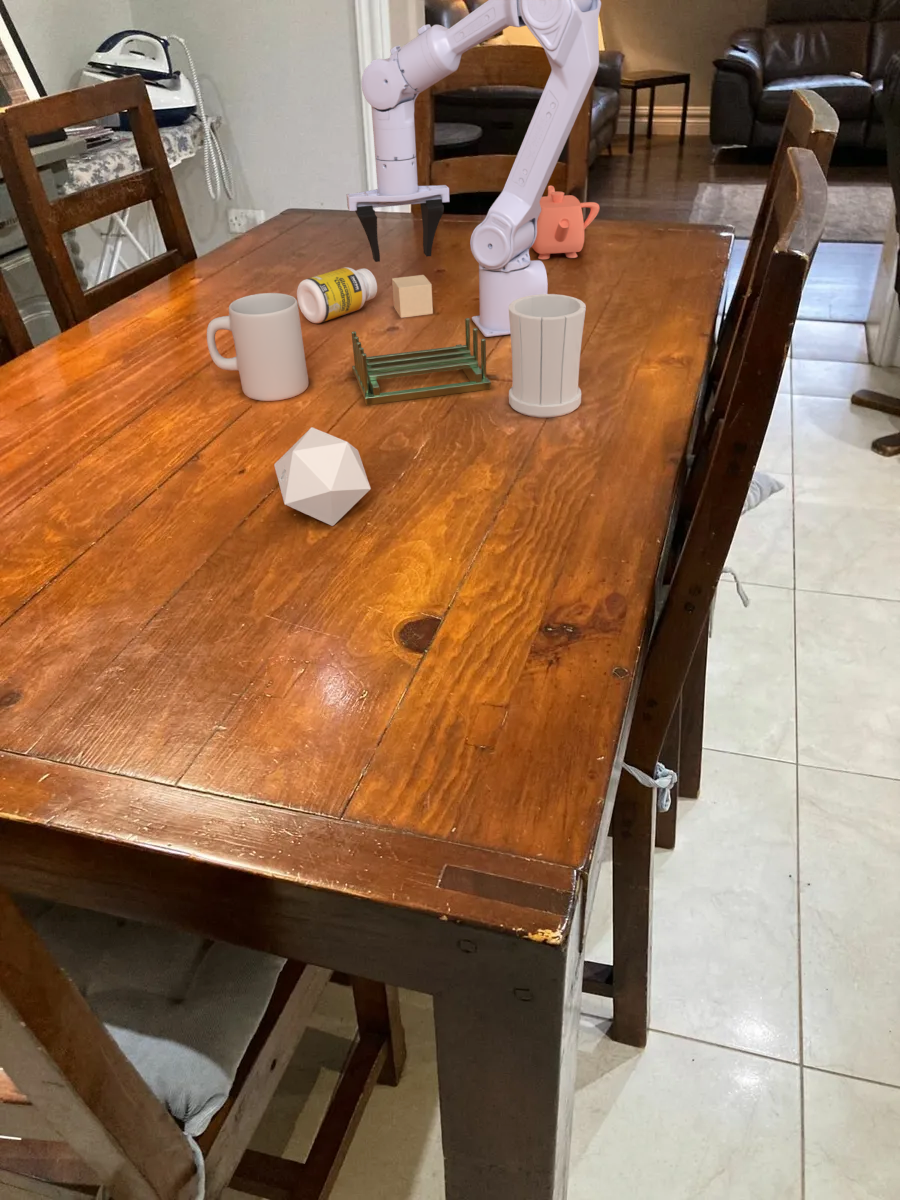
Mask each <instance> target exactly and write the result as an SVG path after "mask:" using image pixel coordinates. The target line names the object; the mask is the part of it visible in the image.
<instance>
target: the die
mask: <svg viewBox="0 0 900 1200" xmlns="http://www.w3.org/2000/svg"><path fill="white" fill-rule="evenodd" d="M273 466H274V469H275V474H276V477H277V481H278V483H279V484H278V485H279V490H280V492H281V496H282V500H283V503H284V505H285V506H286V507H290V508H292V509H294V510H296V511H297V512H301V513H303V514H304V515H307V516H309V517H311V518H314V519H316V520H318V521H320V522H323V523H325V524H327V525H329V526H332V527H333V526H335V525H336V524H337V523H338V522H339V521H340V520H341V519H342V518H343V517H344V516H345V515H346V514H347V513H348V512H349V511H350V510H351V509H352V508H354V506H355V505H356V504H357V503H359V501H360V500H361V499H362V498H363V497H364V496H365V495H366V494H367V493H369V491H370V490H372V488H371V485H370V482H369V480H368V476H367V473H366V470H365V467H364V465H363V460H362V458H361V456H360V451H359V450H358V449H357V448H356V447H355V446H353V445H352V444H351V443H350V442H349V441H346V440H345V439H342V438H339V437H337V436H335V435H332V434H330V433H327V432H325V431H323V430H320V429H317V428H315V427H312V426H311V427H310V428H309V429H308V430H307V431H306V432H305V433H304V434H303V435H302V436H301V437H300V438H299V439H298V440H297V441H296V442H295V443H294V444H293V445H292V446H291V447H290V448H289V449H288V450H286V452H285V453H284V454H283V455H282V456H281V457H279V459H278V460H277V461H276V462H275V463H274V464H273Z"/></svg>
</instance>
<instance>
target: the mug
mask: <svg viewBox="0 0 900 1200" xmlns="http://www.w3.org/2000/svg"><path fill="white" fill-rule="evenodd" d="M220 330H224V331H225V330H226V331H229V332H231V335H232V339H233V345H234V349H235V356H233V357H229V358H228V357H224V356H223V355H221V353H220V352H219V350H218V347H217V344H216V334H217V332H218V331H220ZM206 343H207V348H208V352H209V355H210V358H211V360H212V361H213V363H214V365H215V366H216V367H218V368H219V369H220V370H223V371H231V372H238V373H239V374H238V375H239V380H240V384H241V389H242V392H243V394H244V395H245V396H246V397H247V398H249V399H251V400H256V401H261V402H277V401H283V400H287V399H291V398H295V397H296V396H299V395H301V394H303V393H304V392H305V391H306V390H307V389H308V388H309V384H310V383H309V375H308V374H309V373H308V368H307V362H306V354H305V348H304V339H303V332H302V325H301V319H300V308H299V304H298V300H297V298H295V296H293V295H290V294H287V293H280V292H264V293H263V292H262V293H255V294H250V295H245V296H243V297H239V298H237V299H235V300H233V301H232V302H231V303H230V304H229V306H228V315H223V316H218V317H215V318H213V319H212V320H210V322H209V323H208V325H207V329H206Z"/></svg>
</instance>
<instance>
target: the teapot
mask: <svg viewBox="0 0 900 1200" xmlns="http://www.w3.org/2000/svg"><path fill="white" fill-rule="evenodd" d="M540 206H541V212H540V215H539V217H538V220H537V236H536V240H535V242H534V244H533V245H532V246H531V248H532V250H533V251H534V252H535V253H537V254H538V256H537V260H548V259H550V258H551V254H565V257H566V258H568V259H575V258H578V253H580V252H581V251H582V249H583V247H584V244H585V230H586V229H587V228H588V227H589V226H590V224H591V223H592V222H593V221H594V220H595V218H597V216H598V215H599V212H600V204H599V203H597V202H594V201H586V202H581V201H580V200H579V198H577V197H576V196H575V195H570V194H566V195H565V192H563V191H556V190H555V187H554V186H553V185H547V196H542V197H541V199H540ZM584 208H585V209H586V208H587V209H590V210H589V211H590V212H589V214H588V215H587V217H586V219H585V221H584V214H583V209H584Z"/></svg>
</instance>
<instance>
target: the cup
mask: <svg viewBox="0 0 900 1200" xmlns="http://www.w3.org/2000/svg"><path fill="white" fill-rule="evenodd" d="M586 310H587V307H586V303H585V302H584V301H582V300H581V299H579V298H576V297H573V296H569V295H565V294H556V293H547V294H539V295H530V296H526V297H522V298H519V299H517V300H514V301H513V302H512V303H511V304H510V305H509V320H510V333H511V334H510V346H511V369H512V370H511V373H512V375H511V378H512V379H511V380H512V386H511V387H510V389H509V390H508V405H509V406H510V407H511V408H512V409H513V410H514V411H516V412H518V413H519V414H521V415H524V416H527V417H533V418H541V419H542V418H543V419H544V418H547V419H548V418H549V419H550V418H557V417H562V416H565V415H569V414H571V413H573V412H574V411H575V410H577V409H578V408H579V407H580V405H581V403H582V389H581V388H580V387H579V377H580V365H581V364H580V363H581V352H582V342H583V335H584V325H585V319H586Z"/></svg>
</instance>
